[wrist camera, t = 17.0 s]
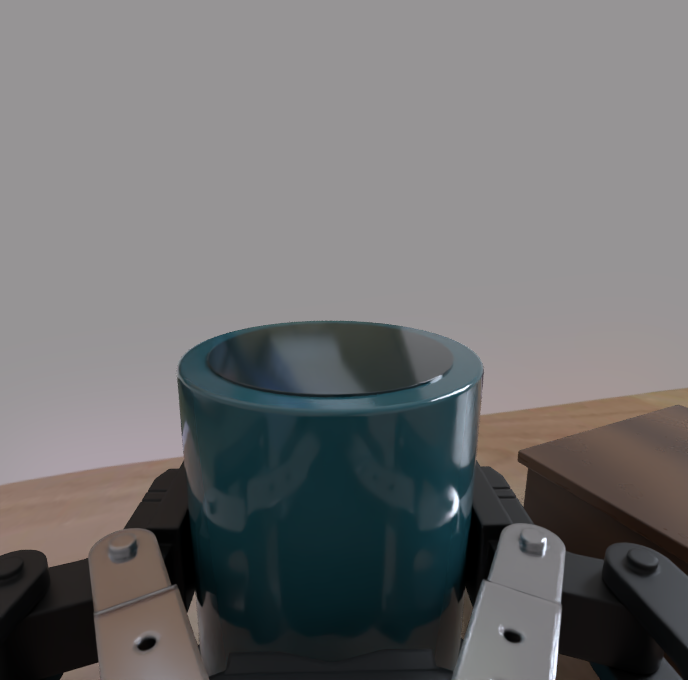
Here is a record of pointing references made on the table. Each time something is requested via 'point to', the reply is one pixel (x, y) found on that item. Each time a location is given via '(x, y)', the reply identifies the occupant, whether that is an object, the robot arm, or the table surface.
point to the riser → (615, 487)
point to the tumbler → (329, 488)
